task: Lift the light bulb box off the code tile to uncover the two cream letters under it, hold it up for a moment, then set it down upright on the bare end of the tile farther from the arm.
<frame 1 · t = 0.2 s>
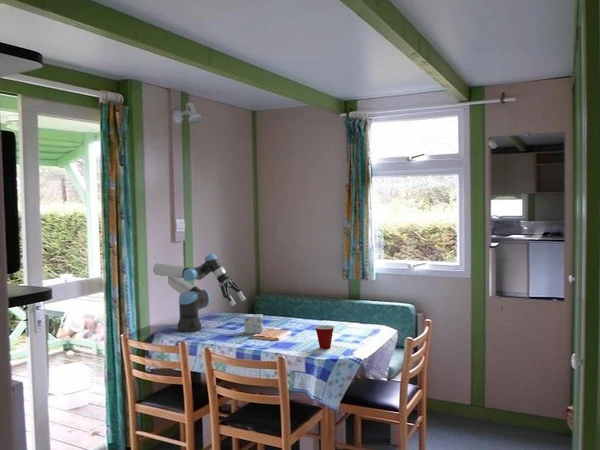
hand: (239, 302, 335), 16 cm above the table, tool tilted 35°, fingers open, 13 cm apart
code tile: (259, 333, 317), on the table
light bulb box: (254, 332, 320), resting on code tile
plastic cup: (325, 348, 283), on the table
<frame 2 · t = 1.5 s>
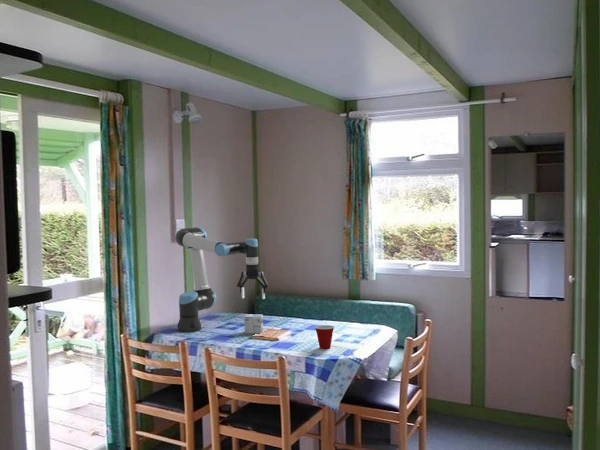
hand: (253, 298, 319), 21 cm above the table, tool pointing down, fingers open, 13 cm apart
nothing on the table moved.
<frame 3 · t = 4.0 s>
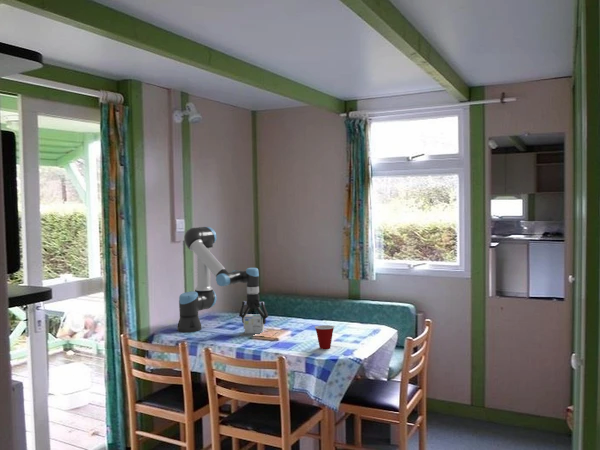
hand: (254, 328, 320), 3 cm above the table, tool pointing down, fingers closed on light bulb box, 11 cm apart
light bulb box: (254, 332, 320), resting on code tile, touching gripper
everything else where it was.
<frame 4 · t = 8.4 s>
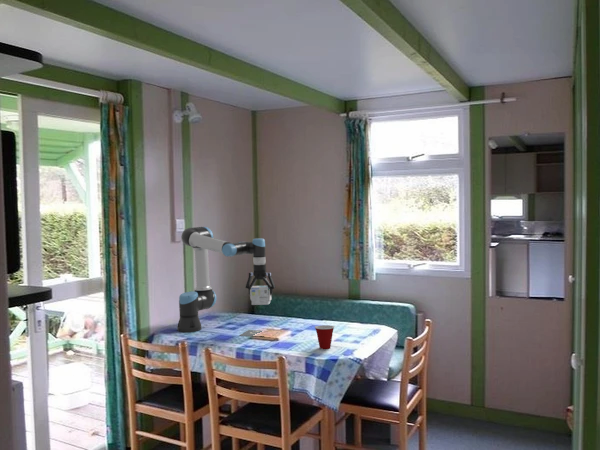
hand: (260, 300, 316), 21 cm above the table, tool pointing down, fingers closed on light bulb box, 11 cm apart
light bulb box: (260, 304, 316), point 18 cm above the table, touching gripper
everything else where it was.
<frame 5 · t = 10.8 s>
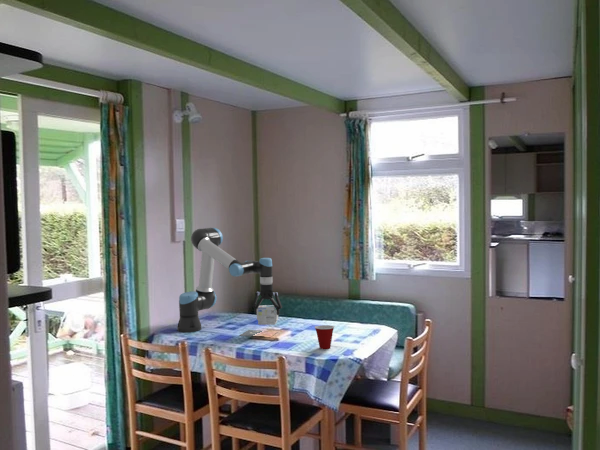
hand: (267, 319, 314), 9 cm above the table, tool pointing down, fingers closed on light bulb box, 11 cm apart
light bulb box: (267, 324, 314), point 7 cm above the table, touching gripper
everything else where it was.
when the fingers open (4 cm above the table, at t = 12.8 s): light bulb box drops 2 cm, resting on code tile.
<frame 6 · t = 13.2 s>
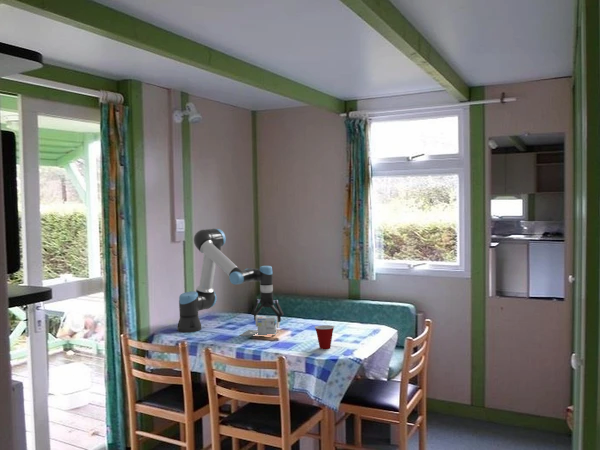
hand: (267, 326, 314), 5 cm above the table, tool pointing down, fingers open, 13 cm apart
light bulb box: (267, 334, 314), resting on code tile
everything else where it was.
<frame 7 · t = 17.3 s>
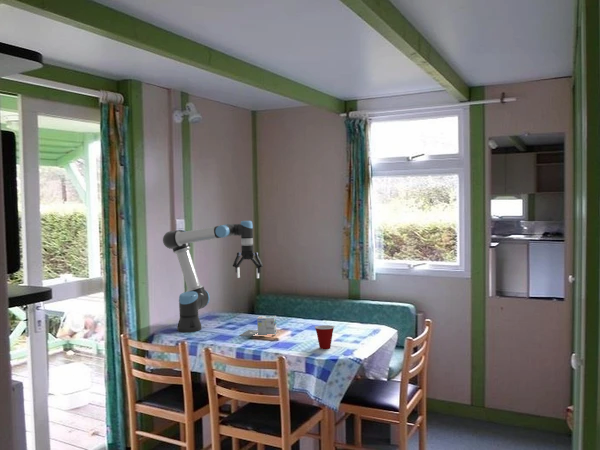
hand: (248, 277, 334), 32 cm above the table, tool pointing down, fingers open, 13 cm apart
nothing on the table moved.
at the end: light bulb box 0.3 cm from the target spot, resting on code tile; light bulb box tilted 0°; the gripper is holding nothing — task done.
